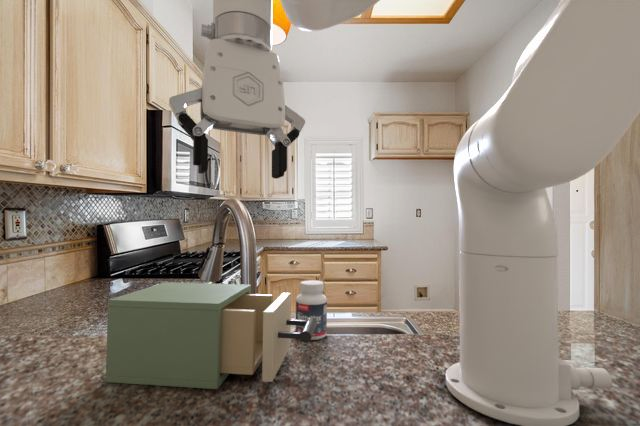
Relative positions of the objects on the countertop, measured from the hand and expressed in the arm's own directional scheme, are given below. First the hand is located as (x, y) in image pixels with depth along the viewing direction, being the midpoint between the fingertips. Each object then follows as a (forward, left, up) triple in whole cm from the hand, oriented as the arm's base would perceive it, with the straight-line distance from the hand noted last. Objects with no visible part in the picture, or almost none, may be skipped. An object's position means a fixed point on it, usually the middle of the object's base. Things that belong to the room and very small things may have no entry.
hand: (242, 174), depth 41 cm
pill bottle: (-7, -14, -25) cm, 30 cm away
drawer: (-1, -1, -24) cm, 24 cm away
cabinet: (+8, -1, -25) cm, 26 cm away
